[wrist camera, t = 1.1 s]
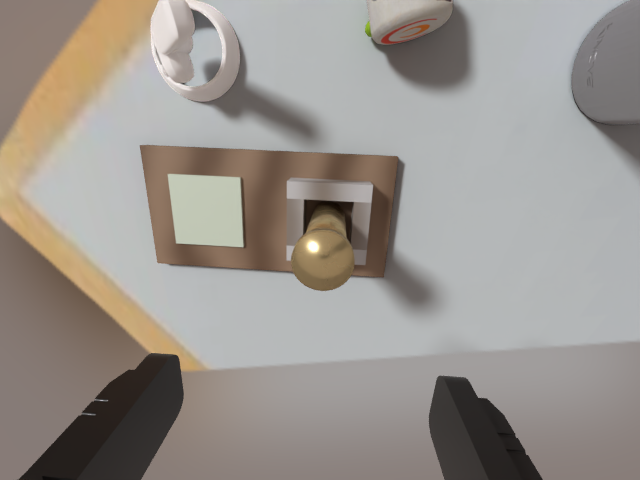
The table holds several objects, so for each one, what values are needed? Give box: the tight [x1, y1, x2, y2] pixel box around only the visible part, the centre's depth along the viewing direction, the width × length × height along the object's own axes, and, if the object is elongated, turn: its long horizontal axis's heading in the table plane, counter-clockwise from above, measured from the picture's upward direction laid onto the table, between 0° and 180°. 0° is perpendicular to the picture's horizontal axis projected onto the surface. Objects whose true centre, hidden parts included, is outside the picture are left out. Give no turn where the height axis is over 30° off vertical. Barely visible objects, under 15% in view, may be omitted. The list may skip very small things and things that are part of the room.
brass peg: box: [291, 202, 355, 291], centre depth 24 cm, size 4×4×11 cm
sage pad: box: [168, 174, 244, 247], centre depth 29 cm, size 7×7×1 cm
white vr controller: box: [150, 0, 240, 102], centre depth 23 cm, size 8×12×7 cm
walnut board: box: [140, 145, 398, 277], centre depth 29 cm, size 24×12×4 cm, turn 88°
